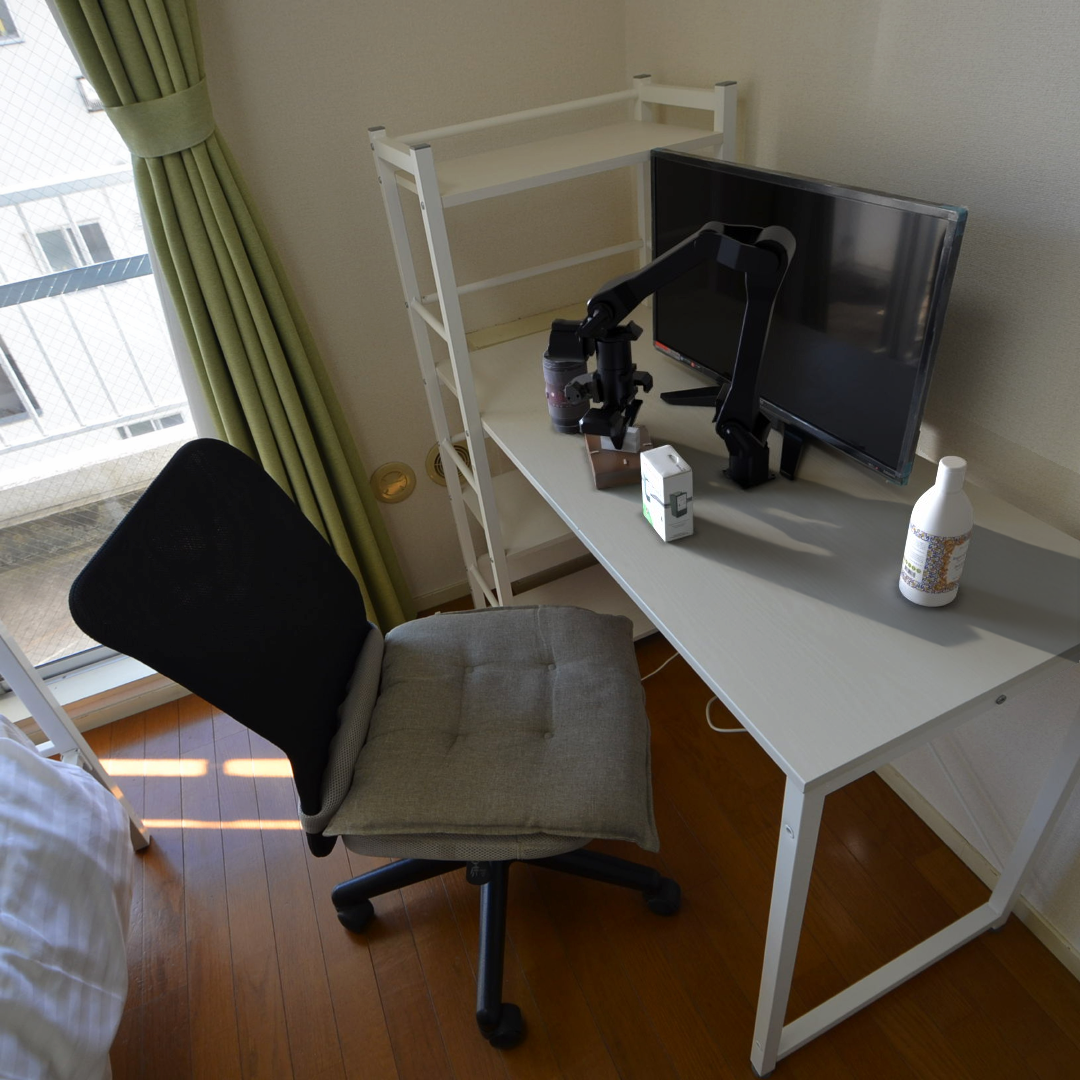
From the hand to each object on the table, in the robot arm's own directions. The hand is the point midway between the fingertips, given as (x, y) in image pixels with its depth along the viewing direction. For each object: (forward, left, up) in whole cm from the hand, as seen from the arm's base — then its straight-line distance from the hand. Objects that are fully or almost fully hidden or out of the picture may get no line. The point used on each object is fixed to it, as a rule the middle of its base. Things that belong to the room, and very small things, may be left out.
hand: (620, 446), depth 139 cm
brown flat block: (0, 0, -4) cm, 4 cm away
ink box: (-20, +3, -4) cm, 21 cm away
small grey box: (0, 0, 0) cm, 0 cm away
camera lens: (+18, +1, -4) cm, 18 cm away
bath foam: (-52, -17, -4) cm, 55 cm away
